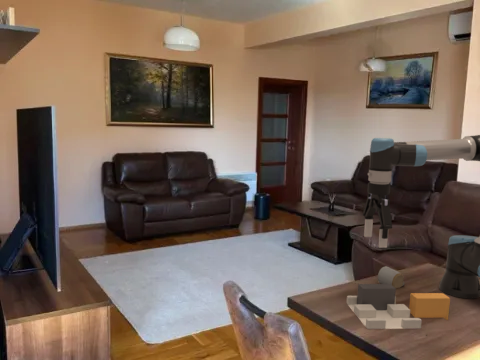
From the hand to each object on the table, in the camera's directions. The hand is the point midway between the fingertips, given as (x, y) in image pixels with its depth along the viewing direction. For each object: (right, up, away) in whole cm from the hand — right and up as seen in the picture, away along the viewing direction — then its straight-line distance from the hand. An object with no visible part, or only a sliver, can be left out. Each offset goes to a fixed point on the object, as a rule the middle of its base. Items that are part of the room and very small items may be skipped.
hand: (374, 241), depth 155 cm
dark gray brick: (0, -24, +2) cm, 24 cm away
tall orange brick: (+18, -26, -2) cm, 32 cm away
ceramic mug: (+15, -22, +26) cm, 38 cm away
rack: (+1, -26, -4) cm, 26 cm away
